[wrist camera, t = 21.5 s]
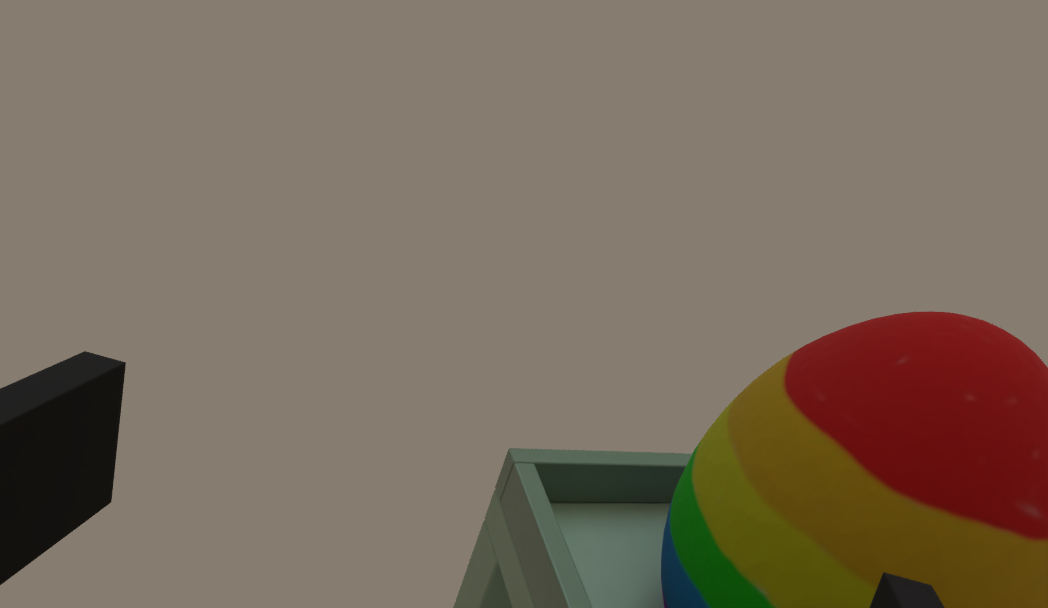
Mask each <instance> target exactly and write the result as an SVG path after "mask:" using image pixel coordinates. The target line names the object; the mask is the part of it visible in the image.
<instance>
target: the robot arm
mask: <svg viewBox="0 0 1048 608" xmlns="http://www.w3.org/2000/svg"><path fill="white" fill-rule="evenodd" d="M125 364H126V363H125V362H121V361H118V360H114V359H111V358H107V357H103V356H100V355H96V354H93V353H89V352H86V351H85V352H82V353H80V354H78V355H76V356H73V357H71V358H69V359H67V360H65V361H62V362H60V363H57V364H55V365H53V366H51V367H49V368H46V369H44V370H42V371H39V372H37V373H35V374H33V375H30V376H28V377H26V378H24V379H22V380H19V381H17V382H15V383H12V384H10V385H8V386H6V387H3V388H1V389H0V585H1V584H2V583H4V582H5V581H6V580H8V579H9V578H10V577H11V576H13V575H14V574H16V573H17V572H18V571H20V570H21V569H22V568H24V567H25V566H26V565H28V564H29V563H30V562H32V561H33V560H34V559H36V558H37V557H38V556H40V555H41V554H42V553H44V552H45V551H46V550H48V549H49V548H50V547H52V546H53V545H54V544H56V543H57V542H58V541H60V540H61V539H63V538H64V537H65V536H67V535H68V534H69V533H71V532H72V531H73V530H75V529H76V528H77V527H78V526H80V525H81V524H83V523H84V522H85V521H87V520H88V519H89V518H91V517H92V516H93V515H95V514H96V513H97V512H99V511H100V510H101V509H103V508H104V507H105V506H107V505H108V504H109V503H110V502H111V499H112V490H113V480H114V470H115V459H116V451H117V441H118V432H119V422H120V413H121V403H122V393H123V384H124V374H125ZM870 608H945V607H944V606H943V604H942V602H941V601H940V599H939V597H938V595H937V594H936V592H935V590H934V589H933V587H932V585H929V584H925V583H922V582H918V581H914V580H911V579H907V578H903V577H900V576H896V575H893V574H889V573H885V572H883V574H882V577H881V579H880V582H879V585H878V587H877V590H876V592H875V595H874V597H873V600H872V602H871V605H870Z"/></svg>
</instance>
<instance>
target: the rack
mask: <svg viewBox="0 0 1048 608" xmlns="http://www.w3.org/2000/svg"><path fill="white" fill-rule="evenodd" d="M691 456H692V454H684V453H651V452H617V451H584V450H552V449H519V448H510V449H509V450H508V452H507V455H506V458H505V461H504V464H503V467H502V469H501V472H500V475H499V478H498V481H497V484H496V487H495V488H496V490H495V491H494V493H493V496H492V499H491V502H490V505H489V507H488V510H487V513H486V516H485V520H484V522H483V524H482V527H481V530H480V534H479V536H478V539H477V542H476V544H475V548H474V550H473V553H472V556H471V559H470V562H469V565H468V568H467V571H466V573H465V576H464V579H463V582H462V585H461V587H460V590H459V593H458V596H457V599H456V602H455V605H454V607H453V608H665V607H664V601H663V594H662V584H661V554H662V543H663V534H664V528H665V524H666V519H667V515H668V511H669V507H670V504H671V501H672V498H673V495H674V492H675V489H676V487H677V484H678V482H679V480H680V477H681V475H682V473H683V471H684V469H685V467H686V466H687V464H688V462H689V460H690V458H691Z"/></svg>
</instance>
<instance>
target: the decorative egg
mask: <svg viewBox="0 0 1048 608" xmlns="http://www.w3.org/2000/svg"><path fill="white" fill-rule="evenodd" d="M883 572H885V573H889V574H893V575H896V576H900V577H903V578H907V579H911V580H914V581H918V582H922V583H925V584H929V585H932V587H933V589H934V590H935V592H936V594H937V595H938V597H939V599H940V601H941V602H942V604H943V606H944V607H945V608H1048V368H1047V366H1046V365H1045V364H1044V363H1043V362H1042V361H1041V359H1040V358H1039V357H1038V356H1037V355H1036V353H1035V352H1033V351H1032V350H1031V349H1030V348H1029V347H1027V346H1026V345H1025V344H1024V343H1023V342H1022V341H1020V340H1019V339H1017V338H1016V337H1014V336H1013V335H1011V334H1010V333H1008V332H1006V331H1005V330H1003V329H1001V328H999V327H997V326H994V325H993V324H990V323H988V322H986V321H983V320H979V319H976V318H972V317H969V316H965V315H960V314H954V313H945V312H910V313H902V314H895V315H890V316H885V317H880V318H875V319H871V320H868V321H865V322H861V323H858V324H855V325H851V326H849V327H846V328H843V329H841V330H838V331H836V332H834V333H831V334H828V335H826V336H823V337H821V338H819V339H817V340H815V341H813V342H811V343H809V344H807V345H805V346H803V347H802V348H800V349H798V350H797V351H795V352H793V353H792V354H790V355H788V356H787V357H785V358H783V359H782V360H780V361H779V362H777V363H776V364H775V365H773V366H772V367H771V368H769V369H768V370H767V371H766V372H764V373H763V374H762V375H760V376H759V377H758V378H757V379H755V380H754V381H753V382H752V383H751V384H750V385H749V386H748V387H747V388H746V389H744V390H743V391H742V392H741V393H740V394H739V395H738V396H737V397H736V398H735V399H734V400H733V401H732V402H731V403H730V404H729V405H728V407H726V408H725V410H724V411H723V412H722V413H721V414H720V416H719V417H718V418H717V419H716V421H715V422H714V423H713V424H712V426H711V427H710V428H709V430H708V431H707V432H706V434H705V435H704V437H703V438H702V440H701V441H700V443H699V444H698V446H697V447H696V449H695V450H694V452H693V454H692V456H691V458H690V460H689V462H688V464H687V466H686V467H685V469H684V471H683V473H682V475H681V477H680V480H679V482H678V484H677V487H676V489H675V492H674V495H673V498H672V501H671V504H670V507H669V511H668V515H667V519H666V524H665V528H664V534H663V543H662V554H661V584H662V594H663V601H664V607H665V608H870V605H871V602H872V600H873V597H874V595H875V592H876V590H877V587H878V585H879V582H880V579H881V577H882V574H883Z"/></svg>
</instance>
